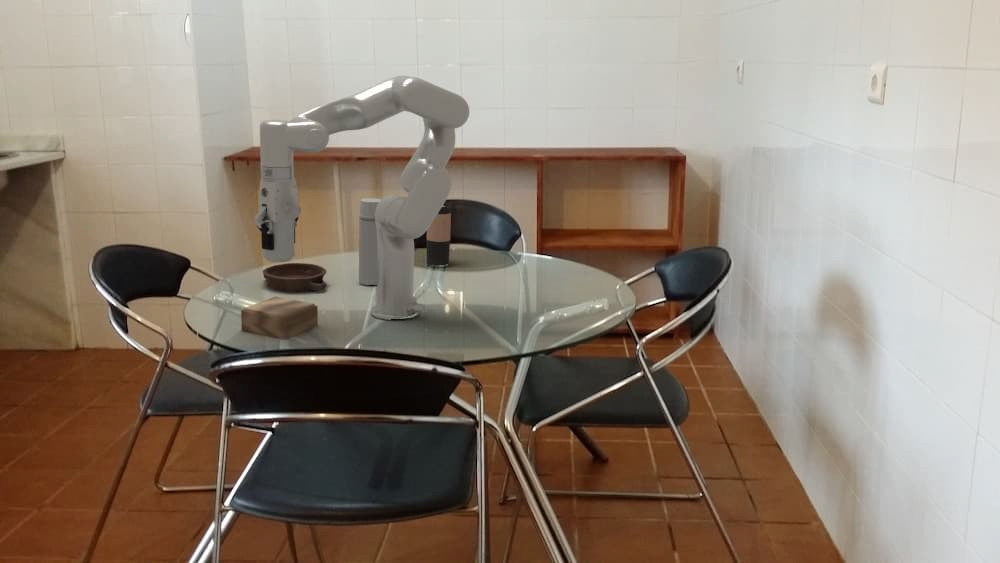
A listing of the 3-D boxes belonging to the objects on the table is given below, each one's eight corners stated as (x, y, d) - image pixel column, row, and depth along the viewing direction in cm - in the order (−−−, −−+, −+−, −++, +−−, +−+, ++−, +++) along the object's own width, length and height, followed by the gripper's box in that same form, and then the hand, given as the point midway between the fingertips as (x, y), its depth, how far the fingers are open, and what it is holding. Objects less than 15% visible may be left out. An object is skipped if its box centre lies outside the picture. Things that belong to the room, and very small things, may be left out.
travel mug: (423, 262, 285) (425, 202, 280) (446, 261, 287) (448, 202, 282) (428, 268, 278) (430, 206, 273) (451, 267, 280) (454, 206, 275)
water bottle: (371, 288, 252) (372, 203, 246) (352, 283, 257) (352, 199, 250) (393, 282, 259) (394, 200, 253) (374, 277, 264) (375, 196, 257)
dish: (285, 274, 264) (284, 258, 262) (344, 285, 254) (344, 269, 253) (244, 286, 248) (244, 270, 247) (306, 299, 239) (305, 282, 238)
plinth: (317, 324, 218) (317, 303, 216) (285, 339, 206) (285, 317, 205) (275, 316, 223) (274, 295, 221) (241, 330, 211) (241, 308, 210)
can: (256, 260, 208) (254, 210, 205) (277, 254, 215) (276, 206, 212) (280, 264, 205) (279, 214, 202) (301, 258, 211) (300, 210, 208)
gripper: (266, 179, 195) (268, 255, 200) (312, 170, 211) (313, 241, 215) (239, 175, 198) (242, 251, 203) (287, 167, 214) (288, 237, 218)
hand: (278, 245), depth 209 cm, fingers closed on can, 7 cm apart
